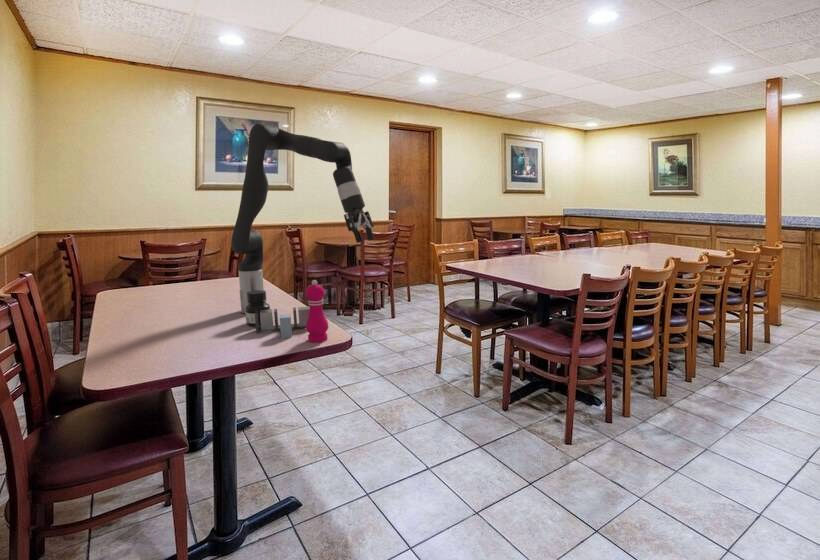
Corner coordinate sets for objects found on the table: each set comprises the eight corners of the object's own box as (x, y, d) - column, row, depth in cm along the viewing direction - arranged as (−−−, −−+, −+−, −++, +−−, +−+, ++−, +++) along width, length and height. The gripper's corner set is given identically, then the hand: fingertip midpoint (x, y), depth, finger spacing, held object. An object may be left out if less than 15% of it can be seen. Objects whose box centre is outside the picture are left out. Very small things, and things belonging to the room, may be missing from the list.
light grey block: (281, 338, 164) (279, 318, 163) (281, 334, 168) (279, 314, 167) (292, 337, 165) (290, 317, 163) (291, 333, 169) (290, 313, 168)
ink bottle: (245, 321, 186) (242, 290, 184) (269, 318, 189) (266, 288, 187) (247, 328, 177) (245, 295, 175) (272, 325, 181) (270, 293, 178)
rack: (256, 333, 170) (254, 313, 169) (256, 329, 175) (255, 310, 174) (316, 328, 175) (314, 309, 174) (315, 324, 180) (314, 306, 178)
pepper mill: (317, 335, 166) (314, 277, 163) (333, 338, 162) (330, 279, 158) (302, 341, 160) (298, 280, 157) (318, 344, 156) (314, 282, 153)
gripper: (352, 200, 179) (366, 242, 180) (331, 201, 166) (347, 246, 167) (369, 193, 176) (384, 236, 176) (349, 193, 163) (365, 239, 164)
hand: (366, 241), depth 172 cm, fingers open, 8 cm apart
